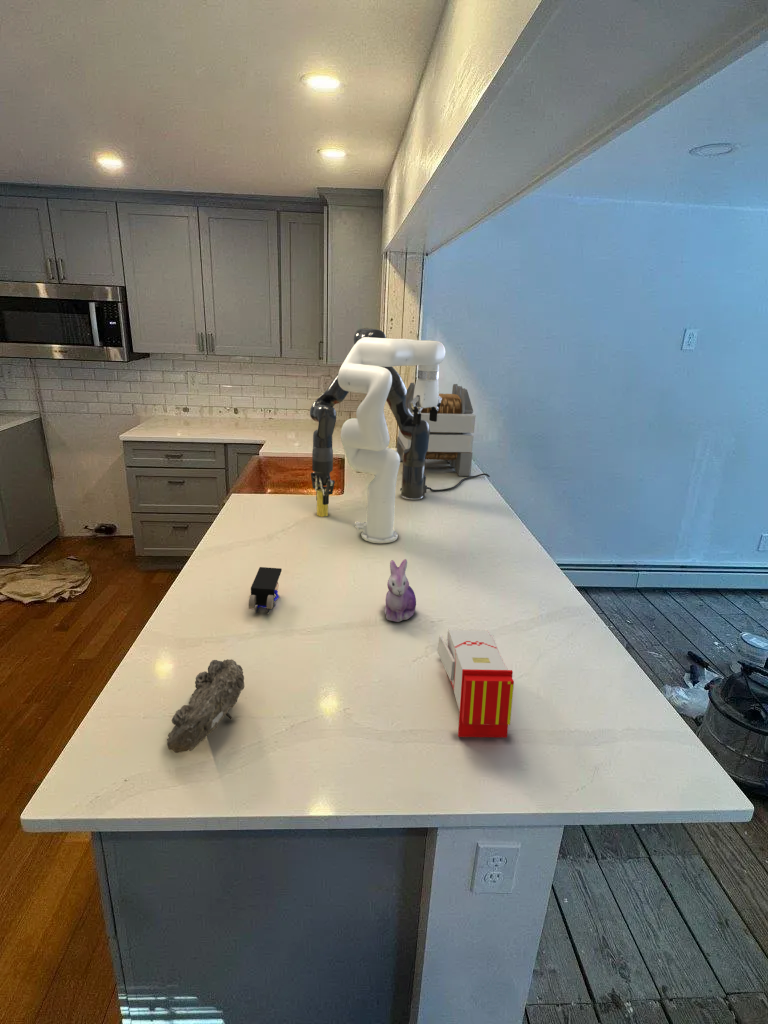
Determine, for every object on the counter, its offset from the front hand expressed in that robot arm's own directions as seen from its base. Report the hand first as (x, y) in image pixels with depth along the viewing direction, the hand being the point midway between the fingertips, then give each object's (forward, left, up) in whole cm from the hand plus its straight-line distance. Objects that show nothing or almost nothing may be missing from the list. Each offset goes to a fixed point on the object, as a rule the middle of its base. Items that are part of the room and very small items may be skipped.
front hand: (424, 422), depth 212 cm
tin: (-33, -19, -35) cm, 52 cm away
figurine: (+14, -80, -35) cm, 89 cm away
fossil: (-9, -131, -35) cm, 135 cm away
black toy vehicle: (-21, -88, -35) cm, 97 cm away
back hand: (-33, -19, -30) cm, 49 cm away
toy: (+36, -106, -35) cm, 117 cm away
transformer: (-10, +67, -35) cm, 76 cm away
